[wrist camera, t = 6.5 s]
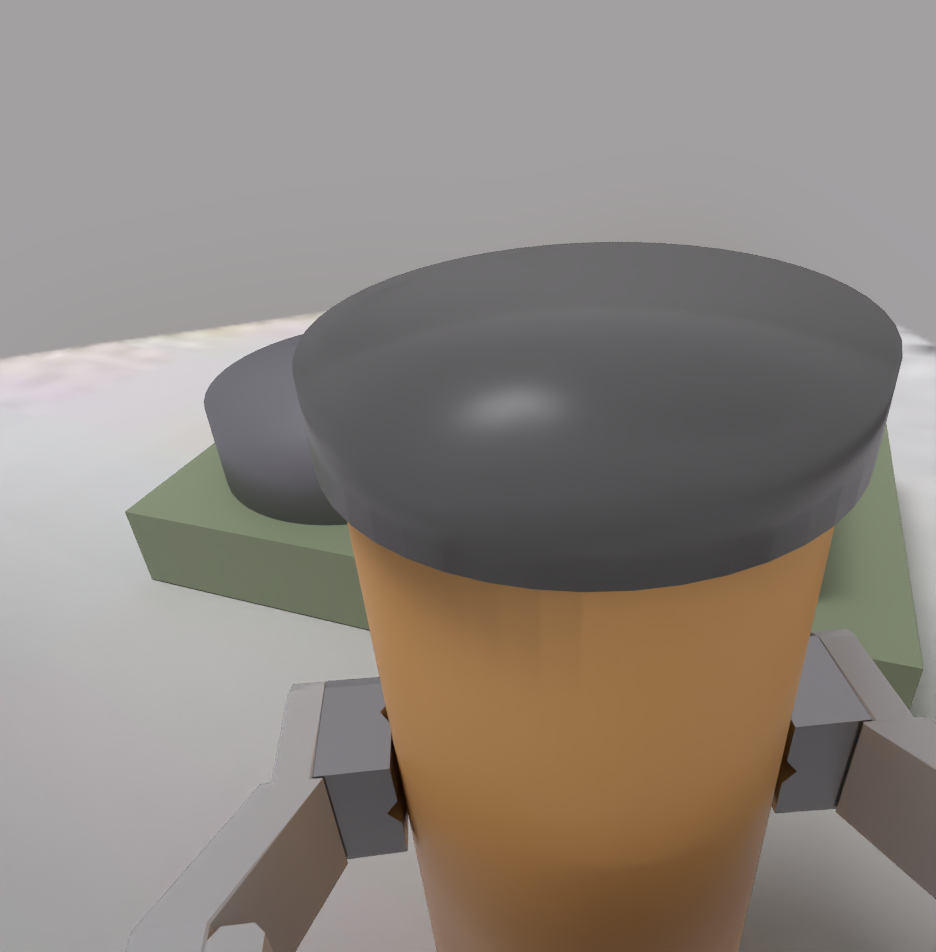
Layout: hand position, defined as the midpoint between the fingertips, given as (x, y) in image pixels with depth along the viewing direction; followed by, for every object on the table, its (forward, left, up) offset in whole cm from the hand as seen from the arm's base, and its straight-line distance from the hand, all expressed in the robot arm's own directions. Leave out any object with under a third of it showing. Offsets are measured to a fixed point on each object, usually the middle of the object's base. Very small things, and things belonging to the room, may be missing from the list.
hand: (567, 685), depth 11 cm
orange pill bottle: (0, -1, -8) cm, 8 cm away
